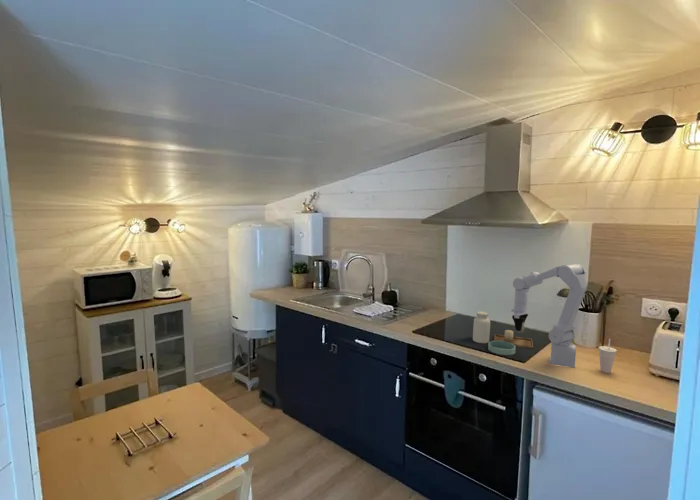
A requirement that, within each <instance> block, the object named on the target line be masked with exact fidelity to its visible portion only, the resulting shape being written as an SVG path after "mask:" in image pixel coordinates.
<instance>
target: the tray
mask: <svg viewBox="0 0 700 500" xmlns="http://www.w3.org/2000/svg"><path fill="white" fill-rule="evenodd" d="M504 339H505V334H504V335H503V334H496V333H494V335H493V341H505V340H504ZM505 342H506V341H505ZM509 343H512V344H513V345H515V346H516V347H517V348H525V349H526V348H527V349H534V343H533V338H528V337H522V336H521V337H520V336H513V342H509Z"/></svg>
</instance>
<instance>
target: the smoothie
mask: <svg viewBox="0 0 700 500" xmlns="http://www.w3.org/2000/svg"><path fill="white" fill-rule="evenodd" d="M598 351H599V367H600V371H601V372H603V373H606V374H610V373H612V369H613V365H614V361H615V357H616V354H617V353H618V352H617V351H618V350H617V349H616V348H614V347H611V338H608V346H606V345H605V346H604V345H602V346H598Z"/></svg>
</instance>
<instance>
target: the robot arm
mask: <svg viewBox="0 0 700 500" xmlns="http://www.w3.org/2000/svg"><path fill="white" fill-rule="evenodd" d="M586 276H587V271H586V269H585V268H584V266H582V265H581V264H579V263H574V264H567V265H566V264H564V265H559V266H554V267H552V268H549V269H547V270H545V271H542V272H537V271H531V272H530V273H529V274H527V275H526V274H524V275H522V277H516V278H515V279H513V281H512V286H513V288H514V289H515V291H514V304H513V305H514V307H513V309H511V312H513V313H514V315H513V314H512V315H511V316H512V318H511V319H512V320H513V322H514V330H515V329H516V330H517V331H521V328H522V324H523V322H524V324H525V323H526V320H527V318H528V317H529V314H528V303H529V302H528V301H529V299H528V298H529V293H530V292H529V291H530V288H532V287H535V286H538V285H541V284H543V282H544V280H547V279H550V278H553V277H556V278H559V279H560V280H561V281H563V282H564V283H565V284H566V285H567V286H568V288H569V291H568V294H567V297H566V300H565V303H564V306H563V308H562V310H561V314H560V316H559V320H558V321H557V322H556V323H555V324H554V325H553V328H552V329H550V331H548V339H549V341H550V343H551V347H550V348H551V349H550V356H548V359H549V364H550V365H554V366H561V367H568V368H569V367H570V368H576V357H577V356H576V355H577V353H576V352H577V348H576V347H577V346H576V345H575V344H573V343H572V341H573V340H574V338H575V329H576V327H575V326H574V323H575V319H576V317H577V315H578V312H579V309H580V307H581V304H582V302H583V299H584V296H585V294H586V290H587V282H586Z"/></svg>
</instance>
